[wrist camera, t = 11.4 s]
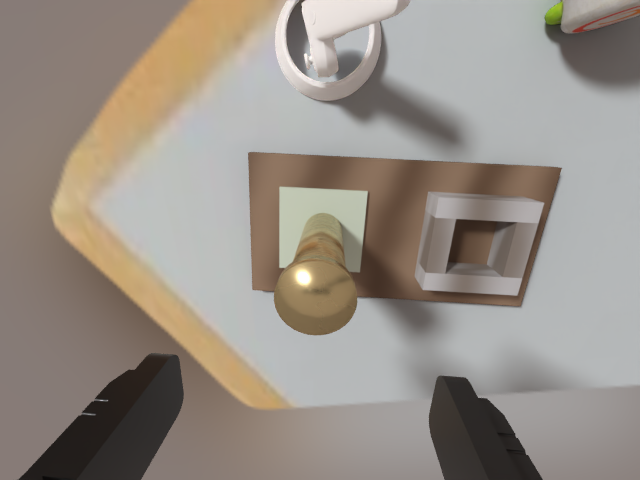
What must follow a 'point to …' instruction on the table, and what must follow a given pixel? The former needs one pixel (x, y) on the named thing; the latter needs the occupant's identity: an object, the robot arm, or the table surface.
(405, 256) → the walnut board
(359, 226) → the sage pad
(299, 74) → the white vr controller
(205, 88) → the table surface
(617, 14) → the roller toy
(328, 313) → the brass peg
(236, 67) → the table surface
